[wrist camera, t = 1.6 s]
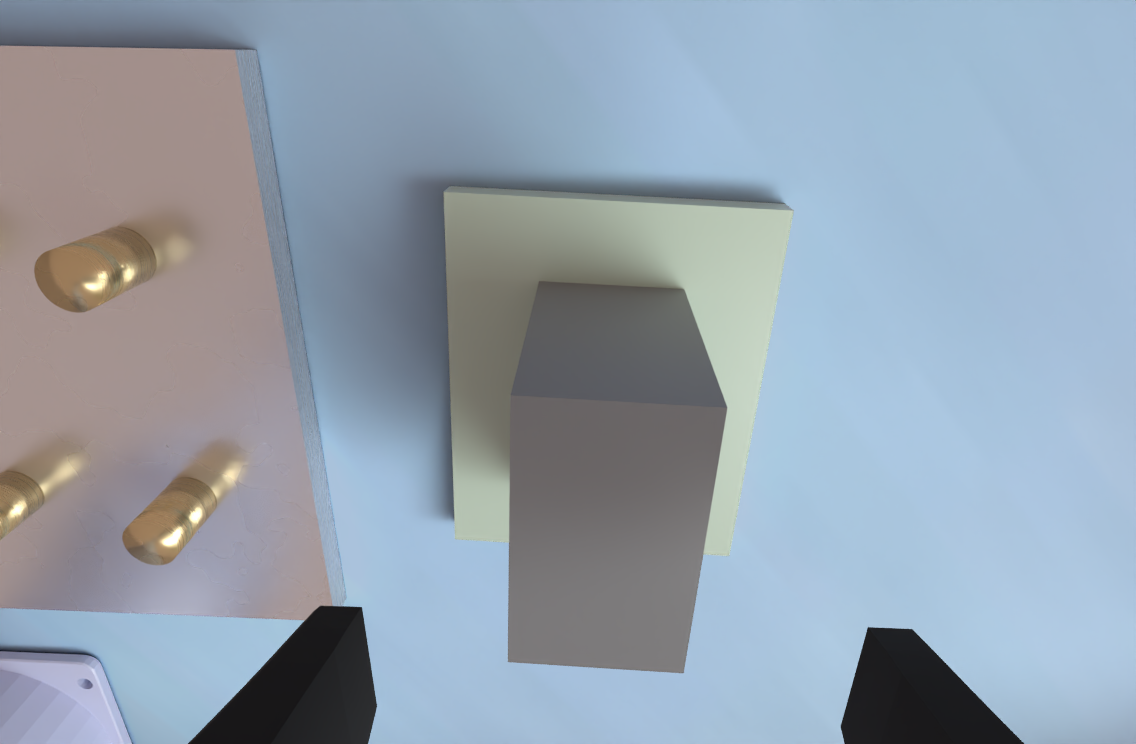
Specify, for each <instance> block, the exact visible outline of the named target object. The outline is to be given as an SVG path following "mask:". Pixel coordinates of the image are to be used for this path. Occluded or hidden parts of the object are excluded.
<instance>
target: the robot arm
mask: <svg viewBox="0 0 1136 744" xmlns="http://www.w3.org/2000/svg"><path fill="white" fill-rule="evenodd" d="M376 708H377V704H376V697H375V690H374V684H373V677H372V671H371V664H370V658H369V651H368V645H367V638H366V631H365V625H364V618H363V612H362V607H344V606H319V607H318V608H317V609H316V610H314V611H313V612H312V613H311V615H310V616H309V617H308V618H307V619H306V620H305V621H304V622H303V623H302V624H301V625H300V626H299V628H298V629H297V630H296V631H295V632H294V633H293V634H292V635H291V636H290V637H289V638H288V640H287V641H286V642H285V643H284V644H283V645H282V646H281V647H280V648H279V649H278V650H277V652H276V653H275V654H274V655H273V656H272V657H271V658H270V659H269V660H268V661H267V662H266V663H265V665H264V666H263V667H262V668H261V669H260V670H259V671H258V672H257V673H256V674H255V675H254V676H253V677H252V678H251V679H250V681H249V682H248V683H247V684H246V685H245V686H244V687H243V688H242V689H241V690H240V691H239V692H238V693H237V694H236V695H235V696H234V697H233V698H232V699H231V700H230V701H229V702H228V703H227V704H226V705H225V706H224V708H223V709H222V710H221V711H220V712H219V713H218V714H217V715H216V716H215V717H214V718H213V719H212V720H211V721H210V722H209V723H208V724H207V725H206V726H205V727H204V728H203V729H202V730H201V731H200V732H199V733H198V734H197V735H196V736H195V737H194V738H193V739H192V740H191V741H190V742H189V743H188V744H368V741H369V737H370V733H371V729H372V725H373V720H374V716H375V712H376ZM841 730H842V734H843V738H844V742H845V744H1024V743H1023V742H1022V741H1021V740H1020V739H1019V738H1018V737H1017V736H1016V735H1015V734H1014V733H1013V732H1012V731H1011V730H1010V729H1009V728H1008V727H1007V726H1006V725H1005V724H1004V723H1003V722H1002V721H1001V720H1000V719H999V718H998V717H997V716H996V715H995V714H994V713H993V712H992V711H991V710H990V709H989V708H988V707H987V706H986V705H985V704H984V702H983V701H982V700H981V699H980V698H979V697H978V696H977V695H976V694H975V693H974V692H973V691H972V690H971V689H970V688H969V687H968V686H967V685H966V684H965V683H964V682H963V681H962V680H961V679H960V678H959V677H958V676H957V675H956V674H955V673H954V672H953V671H952V670H951V668H950V667H949V666H948V665H947V664H946V663H945V662H944V661H943V660H942V659H941V658H940V657H939V656H938V655H937V654H936V653H935V652H934V651H933V650H932V649H931V648H930V647H929V646H928V645H927V644H926V643H925V642H924V641H923V640H922V639H921V638H920V637H919V636H918V635H917V634H916V633H915V632H914V631H913V630H912V629H895V628H870V627H868V629H867V633H866V637H865V640H864V644H863V648H862V651H861V655H860V658H859V662H858V666H857V669H856V673H855V677H854V680H853V684H852V688H851V691H850V695H849V698H848V702H847V706H846V709H845V713H844V717H843V720H842V724H841ZM0 744H132V742H131V740H130V737H129V735H128V732H127V729H126V727H125V724H124V722H123V719H122V717H121V714H120V711H119V709H118V706H117V704H116V701H115V698H114V696H113V693H112V691H111V688H110V686H109V683H108V680H107V678H106V675H105V673H104V670H103V668H102V665H101V663H100V662H99V661H98V660H97V659H96V658H94V657H92V656H89V655H79V654H55V653H31V652H8V651H0Z"/></svg>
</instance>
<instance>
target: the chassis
mask: <svg viewBox="0 0 1136 744" xmlns="http://www.w3.org/2000/svg"><path fill="white" fill-rule="evenodd" d="M345 599H346V594H345V588H344V582H343V575H342V569H341V563H340V557H339V551H338V545H337V539H336V533H335V527H334V520H333V514H332V508H331V502H330V496H329V490H328V484H327V478H326V472H325V465H324V459H323V453H322V447H321V441H320V435H319V429H318V423H317V417H316V410H315V404H314V398H313V392H312V386H311V380H310V374H309V368H308V362H307V355H306V349H305V343H304V337H303V331H302V325H301V319H300V313H299V307H298V300H297V294H296V288H295V282H294V276H293V270H292V264H291V258H290V252H289V245H288V239H287V233H286V227H285V221H284V215H283V209H282V203H281V197H280V190H279V184H278V178H277V172H276V166H275V160H274V154H273V148H272V142H271V135H270V129H269V123H268V117H267V111H266V105H265V99H264V93H263V86H262V80H261V74H260V68H259V62H258V56H257V50H238V49H179V48H120V47H61V46H3V45H0V608H16V609H41V610H66V611H90V612H115V613H140V614H165V615H190V616H214V617H239V618H264V619H289V620H306V619H307V618H308V617H309V616H310V615H311V613H312V612H313V611H314V610H316V609H317V608H318V607H319V606H343V604H344V602H345Z"/></svg>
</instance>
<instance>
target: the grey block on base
mask: <svg viewBox="0 0 1136 744" xmlns="http://www.w3.org/2000/svg"><path fill="white" fill-rule="evenodd" d="M793 212H794V210H792V209H791V208H790V207H789V206H787V205H786V204H783V203H764V202H745V201H726V200H707V199H688V198H669V197H650V196H631V195H612V194H593V193H574V192H555V191H536V190H517V189H498V188H480V187H461V186H449V187H448V188H447V189H446V190H445V191H444V222H445V252H446V282H447V311H448V341H449V371H450V401H451V431H452V461H453V490H454V520H455V539H460V540H476V541H493V542H509V603H508V662H516V663H532V664H547V665H563V666H578V667H594V668H610V669H625V670H641V671H657V672H672V673H684V667H685V661H686V655H687V649H688V643H689V637H690V631H691V625H692V619H693V613H694V607H695V601H696V595H697V589H698V583H699V577H700V571H701V565H702V559H703V554H705V555H721V556H729V554H730V549H731V543H732V538H733V533H734V527H735V522H736V517H737V511H738V506H739V500H740V495H741V490H742V484H743V479H744V474H745V468H746V463H747V458H748V452H749V447H750V442H751V436H752V431H753V426H754V420H755V415H756V410H757V404H758V399H759V394H760V388H761V383H762V378H763V372H764V367H765V361H766V356H767V351H768V345H769V340H770V335H771V329H772V324H773V319H774V313H775V308H776V303H777V297H778V292H779V287H780V281H781V276H782V271H783V265H784V260H785V255H786V249H787V244H788V238H789V233H790V228H791V222H792V217H793Z"/></svg>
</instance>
